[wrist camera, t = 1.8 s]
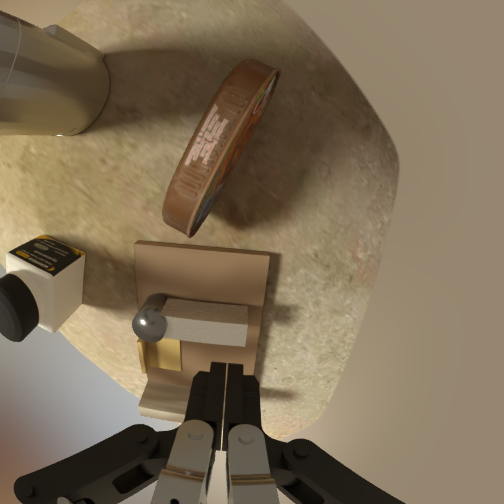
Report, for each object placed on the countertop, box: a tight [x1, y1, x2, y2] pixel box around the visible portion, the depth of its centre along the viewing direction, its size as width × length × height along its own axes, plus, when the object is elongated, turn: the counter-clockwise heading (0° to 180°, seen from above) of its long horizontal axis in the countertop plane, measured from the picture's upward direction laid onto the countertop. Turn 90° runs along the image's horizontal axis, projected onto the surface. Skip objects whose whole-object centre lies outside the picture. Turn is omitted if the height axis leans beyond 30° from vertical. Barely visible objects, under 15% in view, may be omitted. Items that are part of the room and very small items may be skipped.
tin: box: [162, 59, 281, 238], centre depth 20 cm, size 15×3×8 cm, turn 152°
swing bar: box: [132, 294, 248, 347], centre depth 26 cm, size 11×3×4 cm, turn 84°
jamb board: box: [134, 240, 270, 428], centre depth 27 cm, size 20×13×6 cm, turn 174°
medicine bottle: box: [0, 235, 85, 342], centre depth 22 cm, size 7×7×12 cm
